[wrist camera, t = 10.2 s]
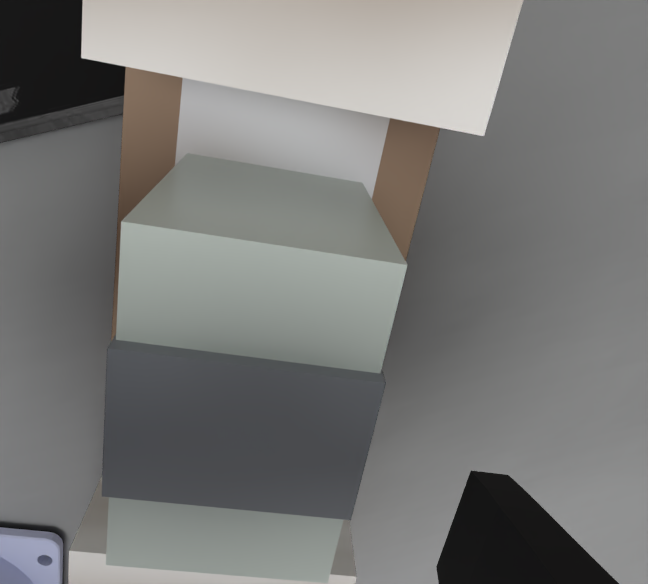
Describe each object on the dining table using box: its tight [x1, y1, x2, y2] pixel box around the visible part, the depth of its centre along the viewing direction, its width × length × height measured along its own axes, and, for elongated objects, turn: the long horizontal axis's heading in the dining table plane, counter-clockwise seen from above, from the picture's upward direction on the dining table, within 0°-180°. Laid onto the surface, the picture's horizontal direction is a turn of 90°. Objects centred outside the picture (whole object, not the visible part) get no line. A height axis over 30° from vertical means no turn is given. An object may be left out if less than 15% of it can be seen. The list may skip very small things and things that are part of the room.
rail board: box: [68, 0, 523, 584], centre depth 15 cm, size 24×8×6 cm, turn 169°
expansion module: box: [102, 153, 407, 583], centre depth 13 cm, size 4×7×6 cm, turn 170°
